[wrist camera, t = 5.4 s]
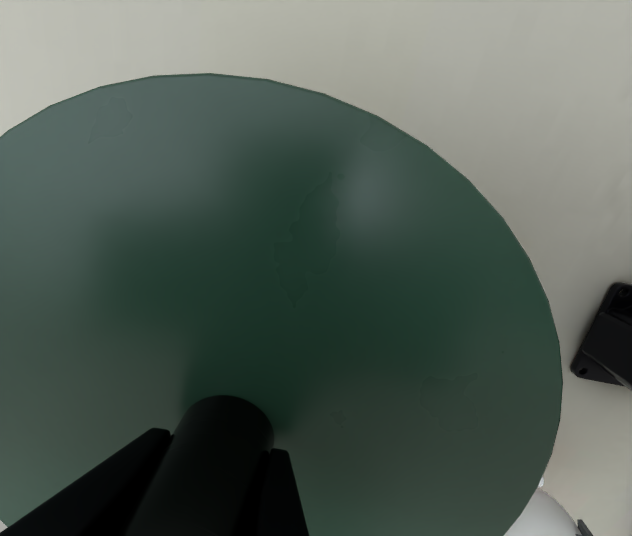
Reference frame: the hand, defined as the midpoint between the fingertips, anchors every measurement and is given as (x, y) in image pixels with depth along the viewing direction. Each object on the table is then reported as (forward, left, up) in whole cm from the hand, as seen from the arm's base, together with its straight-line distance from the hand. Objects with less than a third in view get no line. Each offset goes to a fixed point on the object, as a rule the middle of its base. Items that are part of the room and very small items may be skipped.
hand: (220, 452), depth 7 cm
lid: (0, 0, -1) cm, 1 cm away
